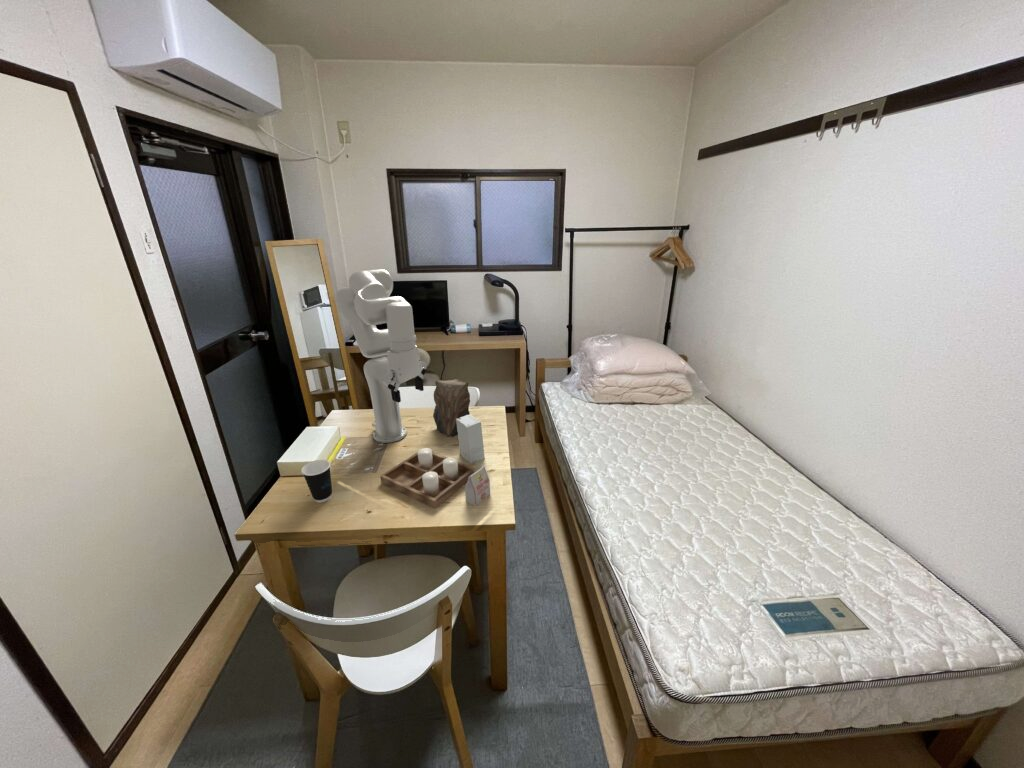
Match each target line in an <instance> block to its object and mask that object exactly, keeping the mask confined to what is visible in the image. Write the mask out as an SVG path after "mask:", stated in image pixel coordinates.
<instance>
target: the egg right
mask: <svg viewBox="0 0 1024 768" xmlns="http://www.w3.org/2000/svg"><path fill="white" fill-rule="evenodd" d="M457 461H458V459H457V458H456V457H453V456H452V457H447V458H446V459H444V460H443V471H444V478H447V479H449V480H452V481H456V480H457V479H458V478H459V474H458V463H457Z"/></svg>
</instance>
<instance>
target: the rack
mask: <svg viewBox="0 0 1024 768" xmlns="http://www.w3.org/2000/svg"><path fill="white" fill-rule="evenodd" d="M432 458H433V468H431V469H430V470H429V471H427V470H425V469H423V468H420V467H419V460H418V451H417V452H415V453H414V454H412V455H410V456H409V457H408V458H406V459H405V460H402V461H401V462H400V463H398V464H397V465H394V466H393V467H392V468H391V469H389V470H387V471H386V472H384V473H382V474H381V475H380V476H379V477H380V484H382V485H384V486H386V487H389V488H391V489H393V490H395V491H397V492H399V493H401V494H403V495H405V496H407V497H409V498H412V499H413V500H416V501H418V502H420V503H422V504H424V505H426V506H428V507H430V508H432V509H435V510H436V509H437V508H439V506H441V505H442V504H443V503H444V502H446V500H448V499H449V498H451V497H452V496H453V495H454V494H456V492H457V491H459V490H460V489H462V488H463V487H465V486H466V483H467V481H468V477H469V476H471V475H472V474H474V473H475V472H476V471H477V470H476V467H473V466H470V465H468V464H465V463H463V462H460V461H458V460H457V463H458V474H459V478H458V479H457V480H456V481H452V480H449V479H447V478H444V471H443V460H444V459H446V458H448V457H446V456H444V455H442V454H438V453H436V452H435V451H434V452H433V451H432ZM427 472H436V473H437V474H438V481H439V491H440V492H439V494H438V495H437V496H435V497H431V496H429V495H427V494H424V488H423V480H422V476H423V474H425V473H427Z"/></svg>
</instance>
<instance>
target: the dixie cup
mask: <svg viewBox="0 0 1024 768" xmlns="http://www.w3.org/2000/svg"><path fill="white" fill-rule="evenodd" d="M331 465H332V464H331V462H330V461H329V460H327V459H315V460H313V461H310V462H307V463H305V465H303V466H302V467H301V470H300V473H301V474H302V475H303V477H304V480H305V482H306V484H307V487H308V489H309V491H310V494H311V496H312V498H313V500H314V501H315V502H316V503H324V502H326V501H329V500H331V498H332V496H333V495H332V494H333V486H332V478H331V477H332V476H331Z"/></svg>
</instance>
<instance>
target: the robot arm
mask: <svg viewBox="0 0 1024 768" xmlns="http://www.w3.org/2000/svg"><path fill="white" fill-rule="evenodd" d="M393 290H394V281H393V277H392V275H391V274H390V273H389V272H388V271H387V270H386V269H382V268H378V269H367V270H364V269H363V270H358V271H356V272H353V273H351V275H350V276H349V279H348V286H344V287H341V288H339V289H338V290H337V291H336V294H335V301H336V305H337V308H338V310H339V312H340V314H341V315H342V317H343V318H344V320H345V321H346V322H347V323H348V325H349V326H350V328H351V330H352V333H353V335H354V338H355V341H356V343H357V345H358V349H359V350H360V352H361V355H362V356H363V357H365V358H367V359H368V358H369V360H367V361H366V362H365V363H364V364H363V372H364V373H363V374H364V376H365V379H366V382H367V385H368V388H369V393H370V394H369V395H370V400H371V404H372V409H373V410H372V411H373V416H374V422H373V423H372V424H371V427H372V428H373V427H374V429H375V431H374V432H373V433H372V436H373V440H374V441H376V442H377V443H380V444H381V443H382V444H383V443H384V444H388V443H389V444H390V443H395V442H398V441H400V440H402V439H403V438H405V437H406V436H407V433H408V430H407V428H406V427H405V426H404V425H403V423H402V416H401V410H400V409H401V407H400V402H402V399H401V392H400V390H399V388H400V387H401V386H400V385H401V384H404V383H405V382H407V381H409V380H412V379H414V380H413V381H414V389H415V390H418V391H420V392H423V391H424V388H425V387H424V381H423V380H424V378H425V374H426V372H427V367H428V362H426V361H421V357H420V351H419V349H418V345H416V341H417V340H418V338H417V336H416V334H415V326H414V325H415V324H414V314H413V312H414V311H413V306H412V305H411V304H410V303H409V302H408V301H407V300H406V298H404V297H402V296H399V295H397V296H396V295H395V296H391V294H392V292H393ZM382 324H386V326H387V327H386V328H384V329H378V328H377V326H378V325H382ZM370 358H371V359H370Z"/></svg>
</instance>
